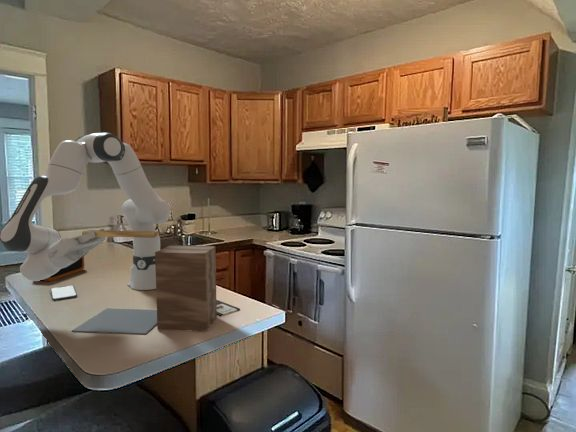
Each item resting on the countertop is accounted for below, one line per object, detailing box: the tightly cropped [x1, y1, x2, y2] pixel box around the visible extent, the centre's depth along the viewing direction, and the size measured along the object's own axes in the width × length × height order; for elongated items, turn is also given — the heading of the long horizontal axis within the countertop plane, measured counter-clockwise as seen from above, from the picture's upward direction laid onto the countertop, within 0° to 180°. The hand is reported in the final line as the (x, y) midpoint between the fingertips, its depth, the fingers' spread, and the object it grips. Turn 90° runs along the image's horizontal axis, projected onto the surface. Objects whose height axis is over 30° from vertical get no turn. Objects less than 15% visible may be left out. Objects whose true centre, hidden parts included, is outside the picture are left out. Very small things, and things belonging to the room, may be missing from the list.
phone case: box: [49, 285, 78, 302], centre depth 156 cm, size 9×2×16 cm
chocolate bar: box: [216, 299, 241, 317], centre depth 142 cm, size 9×1×18 cm
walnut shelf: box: [155, 245, 218, 332], centre depth 125 cm, size 12×16×25 cm
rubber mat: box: [71, 308, 157, 335], centre depth 128 cm, size 20×24×1 cm
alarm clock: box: [43, 256, 85, 282], centre depth 186 cm, size 24×8×11 cm, turn 170°
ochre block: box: [81, 229, 160, 238], centre depth 125 cm, size 4×24×2 cm, turn 86°
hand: (99, 231), depth 125 cm, fingers closed on ochre block, 4 cm apart
